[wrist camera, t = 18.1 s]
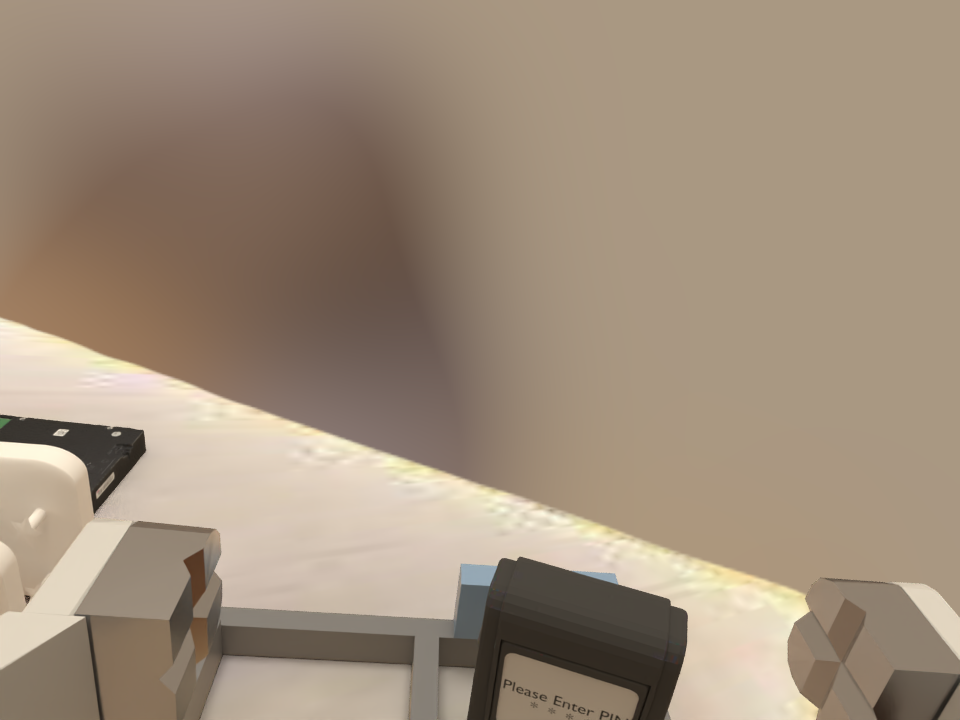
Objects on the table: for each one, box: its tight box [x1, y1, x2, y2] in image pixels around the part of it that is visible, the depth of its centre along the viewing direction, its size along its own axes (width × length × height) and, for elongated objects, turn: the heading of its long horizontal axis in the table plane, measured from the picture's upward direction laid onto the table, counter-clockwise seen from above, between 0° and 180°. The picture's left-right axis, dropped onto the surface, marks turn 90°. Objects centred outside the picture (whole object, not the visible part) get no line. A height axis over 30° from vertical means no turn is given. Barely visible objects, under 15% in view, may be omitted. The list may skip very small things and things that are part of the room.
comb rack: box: [183, 564, 671, 720], centre depth 39 cm, size 28×15×7 cm, turn 92°
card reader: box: [467, 557, 688, 720], centre depth 35 cm, size 9×4×15 cm, turn 74°
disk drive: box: [0, 415, 146, 513], centre depth 58 cm, size 10×3×15 cm
